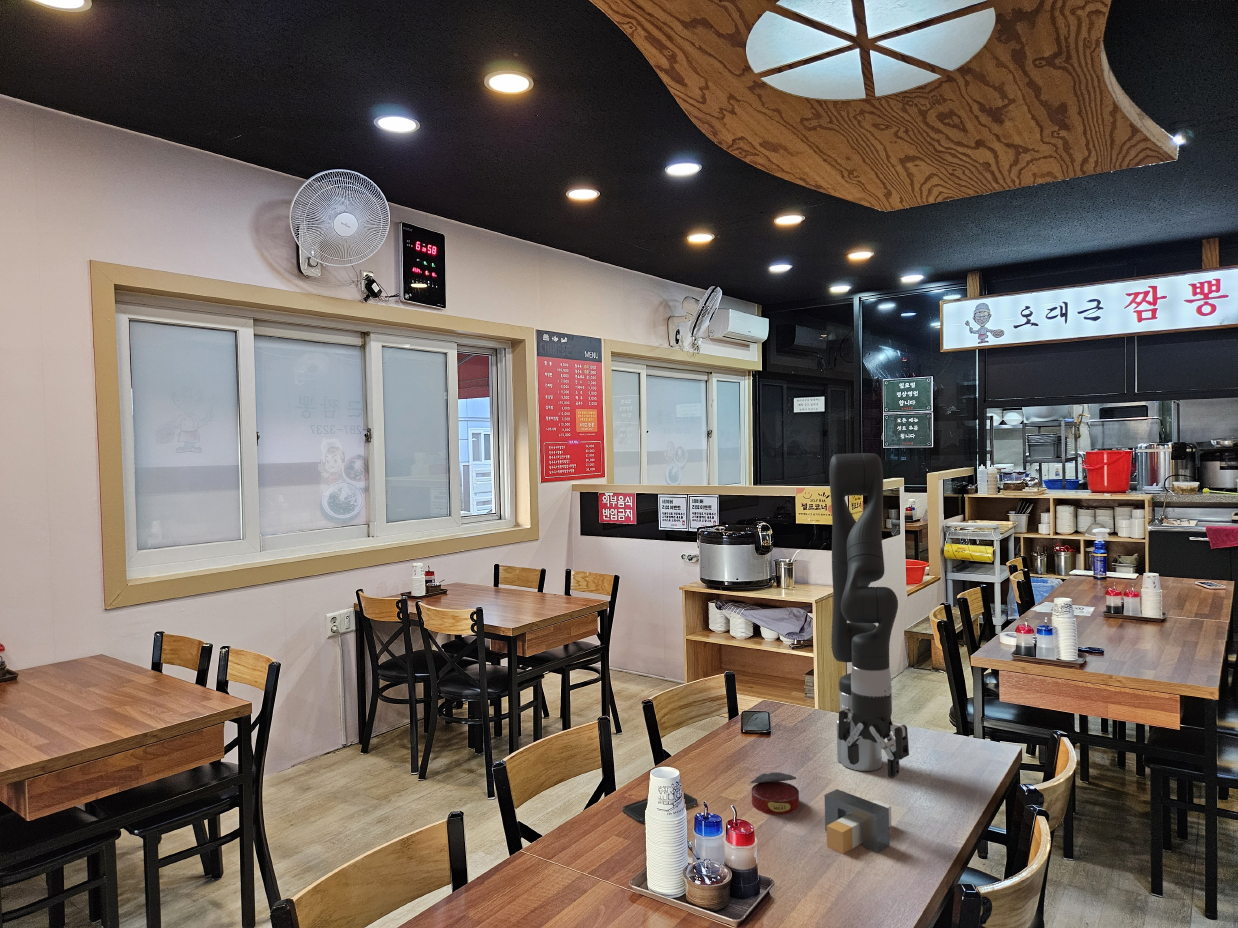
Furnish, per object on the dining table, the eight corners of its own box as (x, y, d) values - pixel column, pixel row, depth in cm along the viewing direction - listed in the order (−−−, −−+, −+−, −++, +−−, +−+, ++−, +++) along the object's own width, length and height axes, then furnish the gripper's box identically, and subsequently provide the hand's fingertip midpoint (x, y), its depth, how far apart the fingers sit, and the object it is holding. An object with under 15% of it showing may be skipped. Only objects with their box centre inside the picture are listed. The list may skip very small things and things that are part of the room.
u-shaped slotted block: (825, 830, 154) (824, 794, 154) (837, 823, 156) (836, 788, 156) (877, 852, 145) (876, 814, 145) (889, 845, 147) (888, 808, 147)
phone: (620, 807, 165) (676, 788, 173) (620, 812, 165) (677, 793, 173) (642, 821, 158) (699, 800, 167) (642, 826, 158) (700, 805, 167)
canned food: (754, 830, 164) (731, 785, 166) (775, 807, 172) (753, 764, 174) (797, 819, 158) (772, 772, 160) (817, 795, 166) (793, 751, 168)
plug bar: (827, 846, 148) (826, 825, 147) (875, 819, 158) (875, 799, 158) (842, 853, 145) (842, 832, 145) (891, 825, 155) (891, 805, 155)
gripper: (829, 684, 157) (831, 764, 158) (893, 701, 146) (895, 787, 146) (851, 676, 162) (853, 754, 162) (915, 692, 151) (917, 775, 151)
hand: (873, 769), depth 154 cm, fingers open, 8 cm apart
